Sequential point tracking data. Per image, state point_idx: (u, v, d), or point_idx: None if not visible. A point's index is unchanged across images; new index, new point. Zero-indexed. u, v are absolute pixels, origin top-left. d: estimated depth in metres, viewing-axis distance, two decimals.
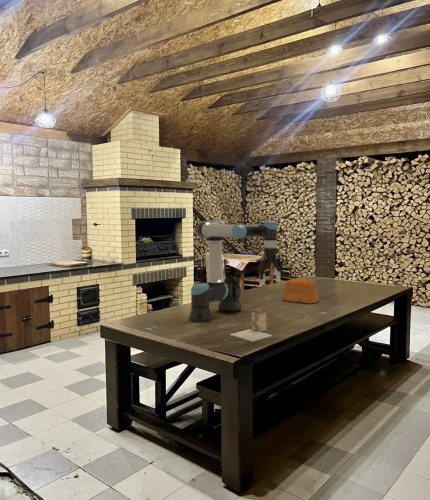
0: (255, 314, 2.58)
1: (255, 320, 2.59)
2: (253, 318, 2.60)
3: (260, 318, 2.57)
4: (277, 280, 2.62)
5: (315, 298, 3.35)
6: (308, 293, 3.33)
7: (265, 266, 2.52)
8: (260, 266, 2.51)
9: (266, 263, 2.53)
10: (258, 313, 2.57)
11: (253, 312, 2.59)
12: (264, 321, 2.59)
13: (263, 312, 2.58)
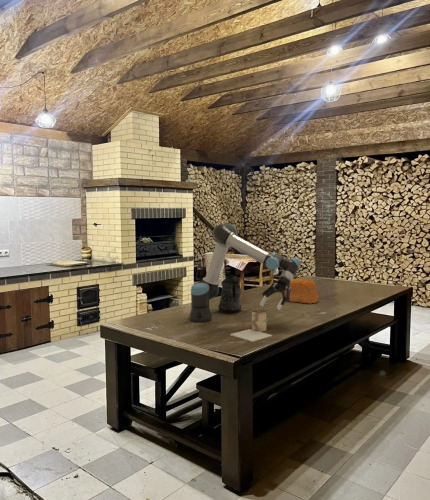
0: (255, 314, 2.58)
1: (255, 320, 2.59)
2: (253, 318, 2.60)
3: (260, 318, 2.57)
4: (262, 303, 2.70)
5: (315, 298, 3.35)
6: (308, 293, 3.33)
7: (285, 295, 2.66)
8: (288, 294, 2.63)
9: (284, 292, 2.67)
10: (258, 313, 2.57)
11: (253, 312, 2.59)
12: (264, 321, 2.59)
13: (263, 312, 2.58)
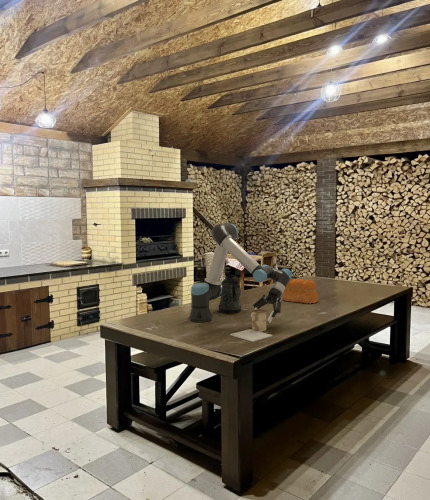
0: (255, 314, 2.58)
1: (255, 320, 2.59)
2: (253, 318, 2.60)
3: (260, 318, 2.57)
4: None
5: (315, 298, 3.35)
6: (308, 293, 3.33)
7: (276, 307, 2.61)
8: (279, 306, 2.58)
9: (275, 304, 2.62)
10: (258, 313, 2.57)
11: (253, 312, 2.59)
12: (264, 321, 2.59)
13: (263, 312, 2.58)
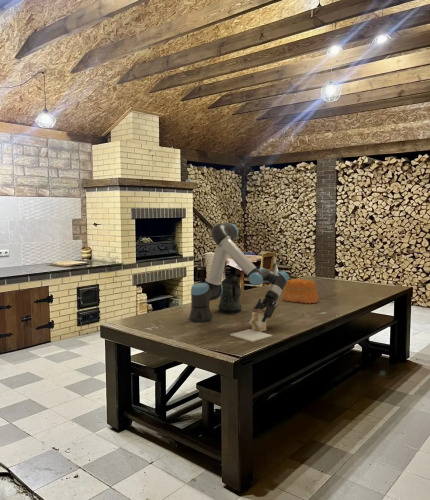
0: (255, 314, 2.58)
1: (255, 320, 2.59)
2: (253, 318, 2.60)
3: (260, 318, 2.57)
4: (251, 322, 2.61)
5: (315, 298, 3.35)
6: (308, 293, 3.33)
7: None
8: (272, 311, 2.58)
9: (269, 308, 2.62)
10: (258, 313, 2.57)
11: (253, 312, 2.59)
12: None
13: (263, 312, 2.58)
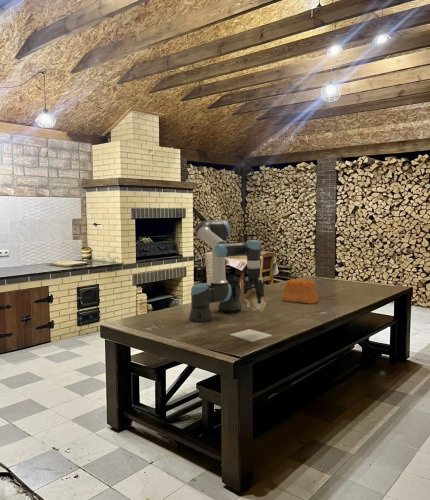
0: (249, 301, 2.47)
1: (251, 304, 2.49)
2: (249, 303, 2.49)
3: (255, 302, 2.46)
4: (249, 305, 2.52)
5: (315, 298, 3.35)
6: (308, 293, 3.33)
7: None
8: (262, 290, 2.44)
9: (258, 285, 2.47)
10: (251, 300, 2.45)
11: (246, 299, 2.48)
12: None
13: (255, 295, 2.45)
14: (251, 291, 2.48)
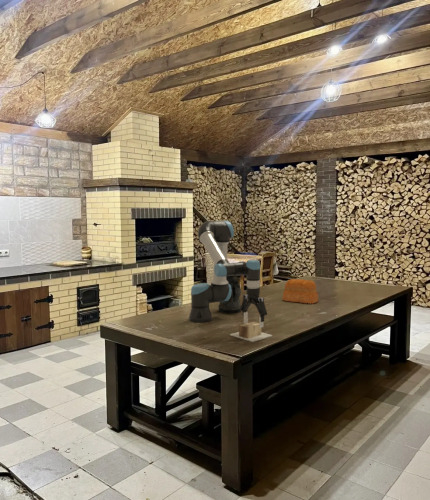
0: None
1: None
2: None
3: (251, 335, 2.45)
4: (246, 321, 2.54)
5: (315, 298, 3.35)
6: (308, 293, 3.33)
7: None
8: (264, 308, 2.43)
9: (259, 304, 2.47)
10: None
11: None
12: (254, 328, 2.46)
13: (247, 331, 2.43)
14: (242, 328, 2.45)
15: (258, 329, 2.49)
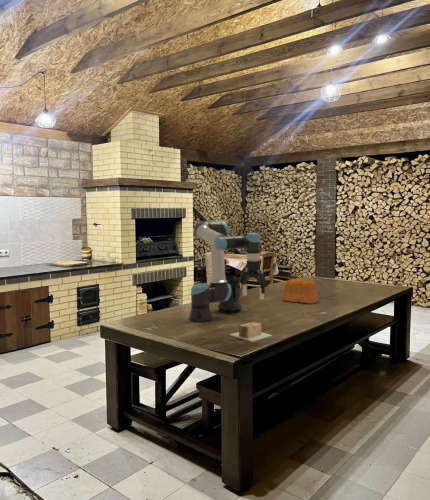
0: None
1: None
2: None
3: (251, 335, 2.45)
4: (245, 293, 2.56)
5: (315, 298, 3.35)
6: (308, 293, 3.33)
7: None
8: (264, 280, 2.44)
9: (259, 276, 2.47)
10: None
11: None
12: (254, 328, 2.46)
13: (247, 331, 2.43)
14: (242, 328, 2.45)
15: (258, 329, 2.49)
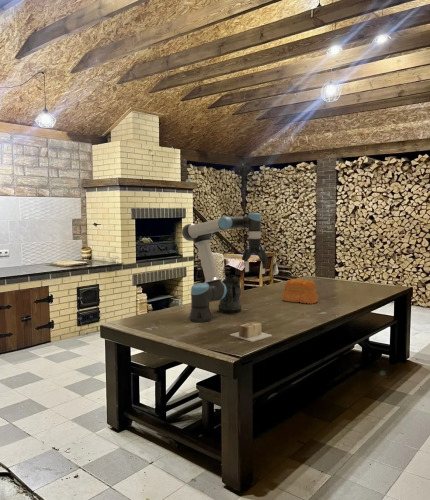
0: None
1: None
2: None
3: (251, 335, 2.45)
4: (247, 269, 2.75)
5: (315, 298, 3.34)
6: (308, 293, 3.32)
7: None
8: (265, 256, 2.63)
9: (260, 253, 2.67)
10: None
11: None
12: (254, 328, 2.46)
13: (247, 331, 2.43)
14: (242, 328, 2.45)
15: (258, 329, 2.49)
